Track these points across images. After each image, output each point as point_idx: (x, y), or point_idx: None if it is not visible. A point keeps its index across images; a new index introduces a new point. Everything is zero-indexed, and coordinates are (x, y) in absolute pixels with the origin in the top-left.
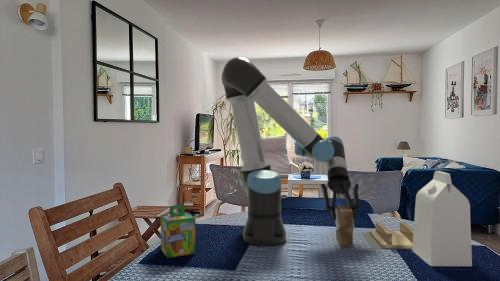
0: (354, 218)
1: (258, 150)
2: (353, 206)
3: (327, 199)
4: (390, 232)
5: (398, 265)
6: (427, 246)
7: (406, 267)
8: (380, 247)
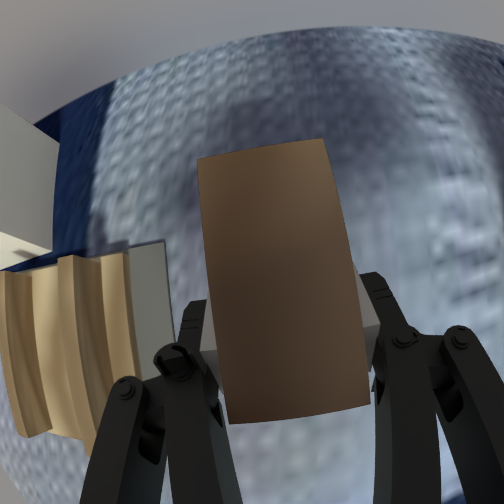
0: (198, 301)
1: None
2: (171, 386)
3: (491, 411)
4: (59, 279)
5: (124, 121)
6: (25, 141)
7: (110, 117)
8: (131, 259)
